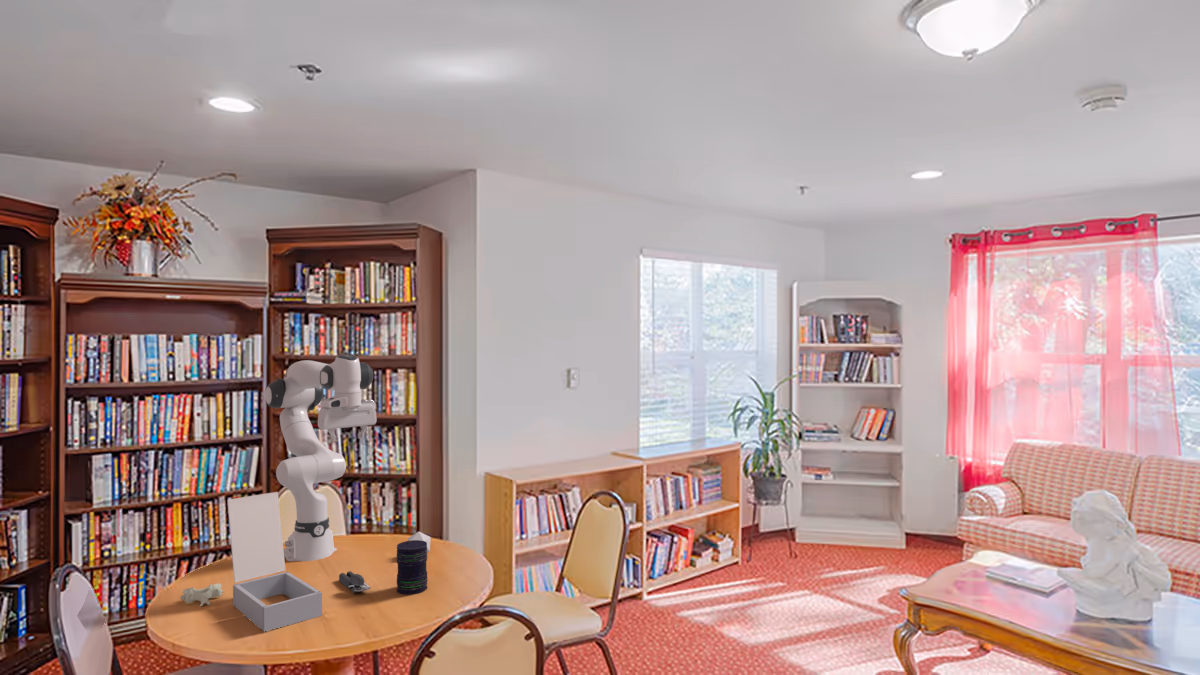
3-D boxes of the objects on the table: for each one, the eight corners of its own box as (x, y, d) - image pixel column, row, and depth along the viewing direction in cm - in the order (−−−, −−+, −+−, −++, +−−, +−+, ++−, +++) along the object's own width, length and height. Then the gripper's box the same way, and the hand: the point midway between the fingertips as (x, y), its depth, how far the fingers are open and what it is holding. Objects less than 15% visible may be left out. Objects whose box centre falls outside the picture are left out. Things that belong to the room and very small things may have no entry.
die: (435, 556, 259) (435, 530, 259) (417, 562, 251) (417, 536, 251) (420, 552, 263) (419, 526, 263) (402, 559, 256) (401, 532, 256)
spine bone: (182, 616, 207) (183, 602, 206) (179, 599, 214) (179, 585, 214) (226, 608, 214) (227, 594, 213) (222, 592, 222) (223, 578, 221)
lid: (235, 582, 211) (234, 582, 211) (285, 570, 222) (284, 570, 222) (228, 499, 215) (227, 499, 216) (277, 491, 226) (276, 491, 227)
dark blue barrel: (433, 589, 224) (433, 544, 224) (406, 597, 217) (406, 551, 217) (417, 582, 231) (417, 538, 231) (391, 589, 224) (390, 544, 224)
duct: (233, 607, 210) (233, 584, 210) (287, 592, 222) (287, 571, 222) (264, 632, 192) (264, 608, 192) (321, 615, 203) (321, 592, 203)
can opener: (371, 594, 221) (371, 575, 221) (356, 598, 218) (356, 578, 218) (352, 578, 236) (352, 560, 236) (337, 582, 232) (337, 563, 232)
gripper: (371, 398, 249) (371, 435, 249) (315, 402, 234) (315, 442, 234) (379, 399, 244) (379, 437, 244) (323, 403, 230) (323, 444, 230)
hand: (348, 439), depth 239 cm, fingers open, 8 cm apart
